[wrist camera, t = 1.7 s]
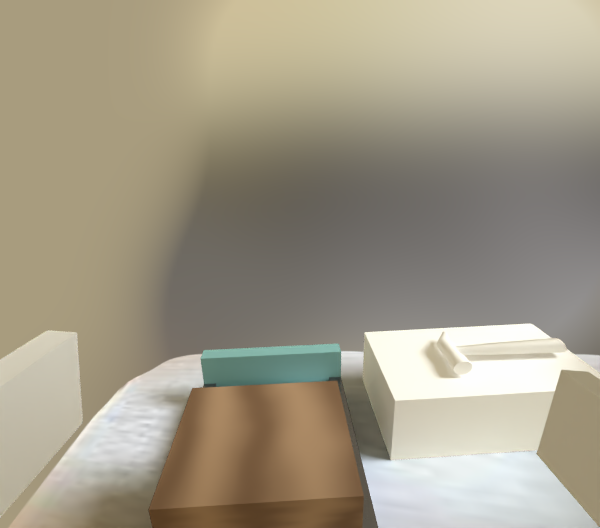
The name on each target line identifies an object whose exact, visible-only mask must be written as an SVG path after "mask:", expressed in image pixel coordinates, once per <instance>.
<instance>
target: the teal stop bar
mask: <svg viewBox="0 0 600 528" xmlns="http://www.w3.org/2000/svg"><path fill="white" fill-rule="evenodd" d="M201 365H202V372H203V379H204V384H214V383H216V387H226V386H245V385H264V384H283V383H301V382H320V381H329V377H341V350H340V347H339V344H322V345H303V346H283V347H282V346H281V347H263V348H262V347H261V348H240V349H220V350H204V351H203V354H202V357H201Z"/></svg>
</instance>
